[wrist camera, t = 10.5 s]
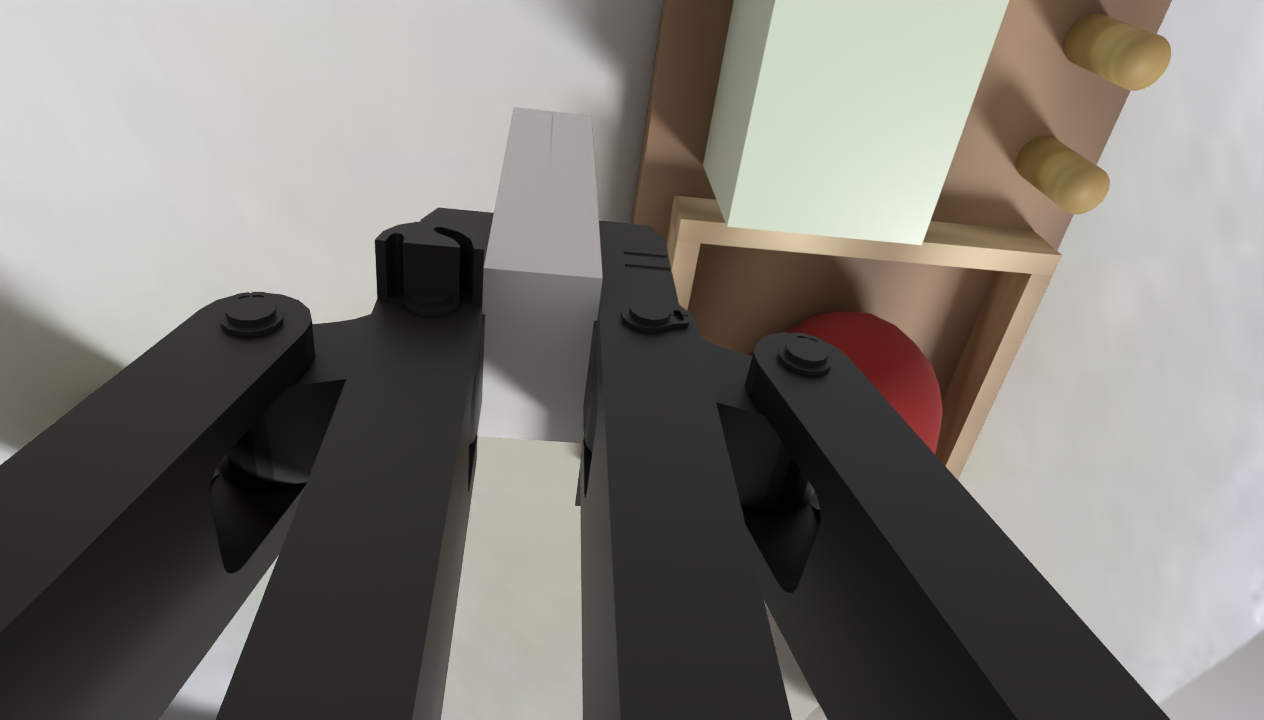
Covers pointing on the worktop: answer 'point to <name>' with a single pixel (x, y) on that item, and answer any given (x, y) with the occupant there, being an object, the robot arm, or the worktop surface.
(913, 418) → the tomato
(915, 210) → the block
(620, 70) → the worktop surface
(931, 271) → the housing base
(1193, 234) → the worktop surface
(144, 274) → the worktop surface
